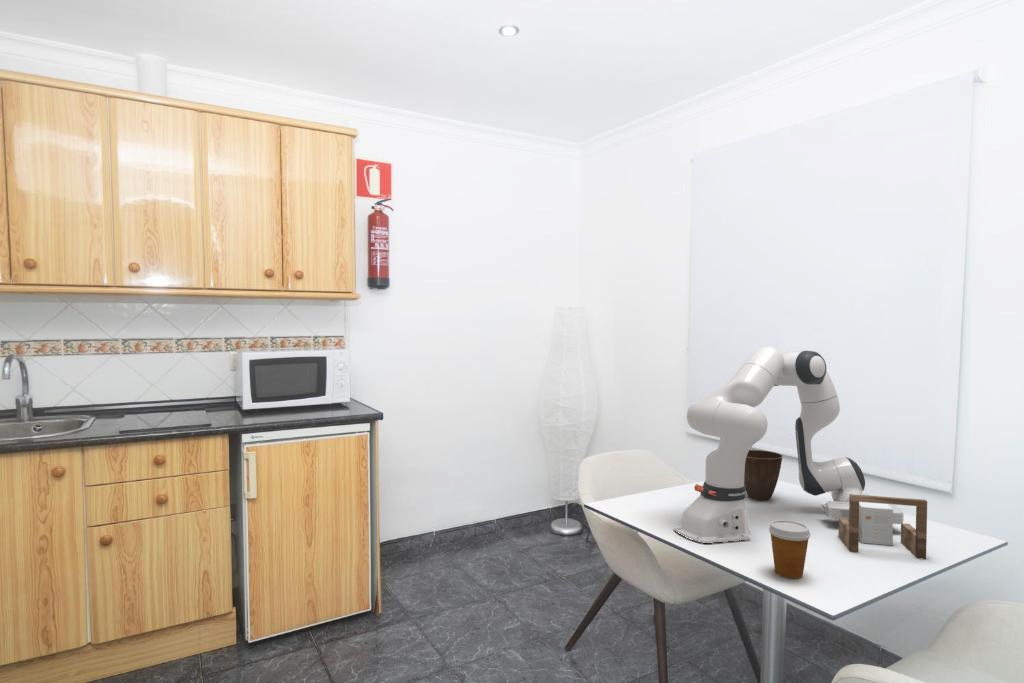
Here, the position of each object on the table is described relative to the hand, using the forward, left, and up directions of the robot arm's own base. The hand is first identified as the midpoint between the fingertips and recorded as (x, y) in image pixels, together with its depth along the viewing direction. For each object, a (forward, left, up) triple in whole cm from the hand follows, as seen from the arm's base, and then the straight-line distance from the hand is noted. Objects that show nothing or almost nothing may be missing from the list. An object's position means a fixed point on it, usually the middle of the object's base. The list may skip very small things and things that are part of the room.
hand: (871, 520), depth 169 cm
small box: (-2, -2, -5) cm, 6 cm away
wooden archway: (-5, -6, -5) cm, 9 cm away
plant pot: (+1, +42, -5) cm, 42 cm away
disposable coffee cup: (-43, -8, -5) cm, 44 cm away
